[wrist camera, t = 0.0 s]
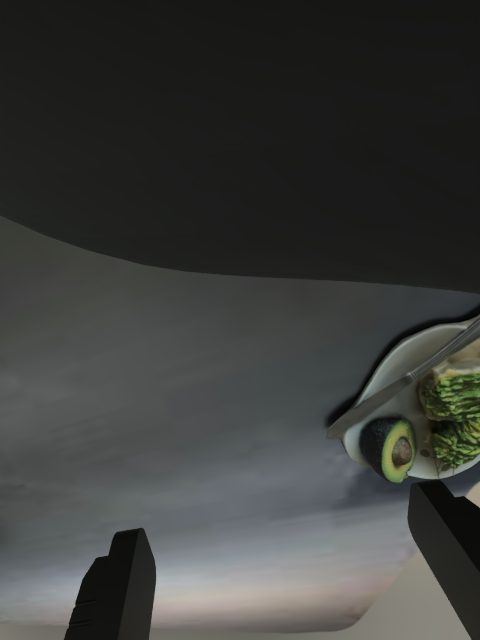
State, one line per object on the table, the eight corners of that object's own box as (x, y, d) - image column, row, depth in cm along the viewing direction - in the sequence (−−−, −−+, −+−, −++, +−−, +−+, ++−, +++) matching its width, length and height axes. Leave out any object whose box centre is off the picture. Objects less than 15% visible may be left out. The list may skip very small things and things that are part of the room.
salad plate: (415, 261, 26) (455, 282, 22) (575, 327, 30) (634, 354, 26) (305, 442, 33) (319, 483, 29) (446, 474, 38) (476, 513, 34)
